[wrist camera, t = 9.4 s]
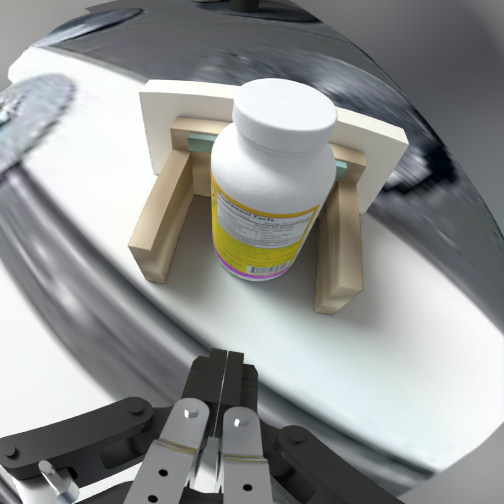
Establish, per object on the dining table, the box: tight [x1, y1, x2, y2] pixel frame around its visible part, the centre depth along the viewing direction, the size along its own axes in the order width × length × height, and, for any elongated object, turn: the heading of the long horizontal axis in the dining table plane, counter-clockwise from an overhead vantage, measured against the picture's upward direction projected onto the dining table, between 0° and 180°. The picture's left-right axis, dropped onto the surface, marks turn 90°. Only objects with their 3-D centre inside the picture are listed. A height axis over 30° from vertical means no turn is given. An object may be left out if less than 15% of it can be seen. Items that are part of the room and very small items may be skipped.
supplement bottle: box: [211, 79, 338, 281], centre depth 17 cm, size 7×7×13 cm
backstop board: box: [139, 80, 409, 214], centre depth 22 cm, size 20×2×9 cm, turn 81°
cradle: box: [128, 117, 367, 315], centre depth 20 cm, size 14×10×7 cm
